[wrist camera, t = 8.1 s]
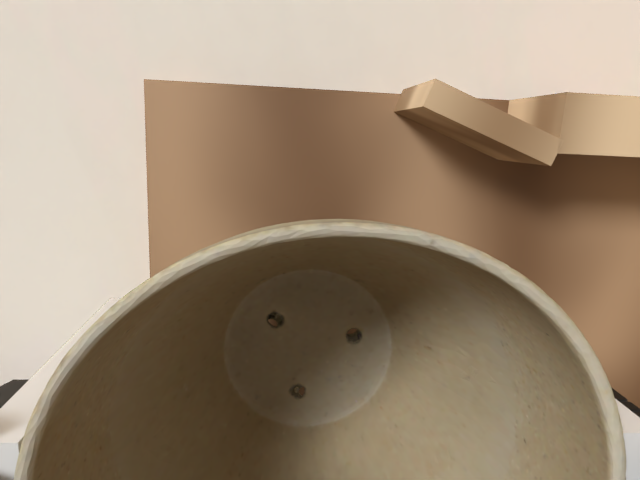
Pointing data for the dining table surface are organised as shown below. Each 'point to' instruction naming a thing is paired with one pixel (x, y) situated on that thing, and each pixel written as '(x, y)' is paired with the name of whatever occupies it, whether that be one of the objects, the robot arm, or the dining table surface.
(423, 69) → the dining table surface
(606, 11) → the dining table surface
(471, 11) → the dining table surface
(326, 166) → the slot board
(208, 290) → the flower pot
